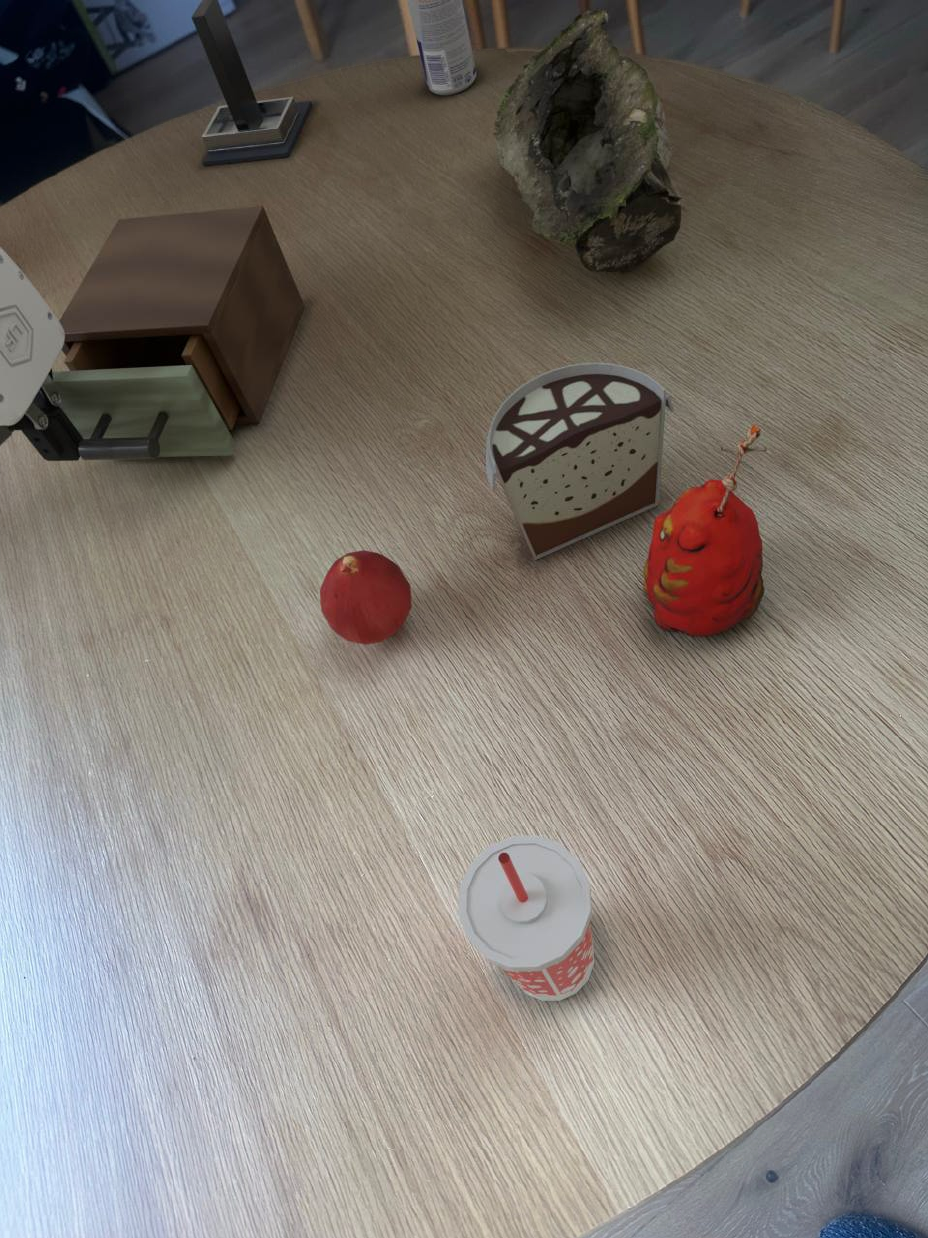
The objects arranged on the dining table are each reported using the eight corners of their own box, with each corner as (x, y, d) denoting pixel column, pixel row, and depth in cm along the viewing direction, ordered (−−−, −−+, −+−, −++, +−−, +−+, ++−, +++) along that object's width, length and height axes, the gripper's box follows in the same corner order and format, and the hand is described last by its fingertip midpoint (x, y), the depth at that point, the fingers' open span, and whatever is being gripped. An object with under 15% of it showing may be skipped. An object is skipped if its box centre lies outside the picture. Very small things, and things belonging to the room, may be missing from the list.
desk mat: (204, 166, 107) (202, 161, 106) (231, 114, 112) (229, 110, 112) (288, 156, 104) (286, 152, 104) (312, 104, 109) (311, 100, 109)
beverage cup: (594, 887, 53) (560, 774, 42) (622, 1003, 50) (594, 913, 38) (484, 912, 54) (422, 807, 42) (504, 1029, 50) (442, 948, 39)
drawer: (215, 497, 75) (166, 418, 69) (76, 498, 79) (17, 423, 72) (278, 339, 85) (241, 257, 78) (152, 346, 88) (106, 268, 82)
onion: (327, 621, 67) (286, 549, 61) (401, 581, 68) (368, 505, 62) (361, 681, 64) (320, 611, 58) (438, 638, 65) (406, 564, 58)
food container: (637, 440, 71) (627, 329, 63) (678, 496, 67) (673, 385, 59) (481, 509, 70) (450, 406, 62) (514, 569, 67) (486, 468, 59)
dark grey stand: (209, 154, 107) (153, 27, 96) (225, 123, 110) (173, -3, 100) (285, 145, 104) (236, 14, 94) (299, 114, 108) (254, -16, 97)
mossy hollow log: (643, 355, 82) (777, 213, 72) (518, 294, 76) (645, 130, 66) (593, 164, 98) (697, 25, 88) (485, 101, 92) (584, -56, 82)
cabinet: (259, 423, 81) (207, 324, 73) (114, 427, 84) (50, 334, 76) (305, 306, 88) (263, 205, 80) (171, 314, 92) (118, 218, 84)
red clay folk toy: (667, 543, 65) (656, 370, 53) (776, 562, 62) (790, 385, 50) (634, 637, 62) (613, 474, 50) (748, 661, 59) (755, 496, 47)
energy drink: (455, 64, 108) (429, -58, 98) (487, 76, 105) (463, -48, 95) (418, 88, 106) (388, -33, 97) (449, 101, 103) (421, -23, 94)
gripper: (-97, 326, 57) (71, 528, 72) (12, 174, 65) (143, 384, 79) (-199, 333, 59) (-15, 528, 74) (-81, 184, 67) (63, 387, 82)
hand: (66, 452), depth 76 cm, fingers closed
